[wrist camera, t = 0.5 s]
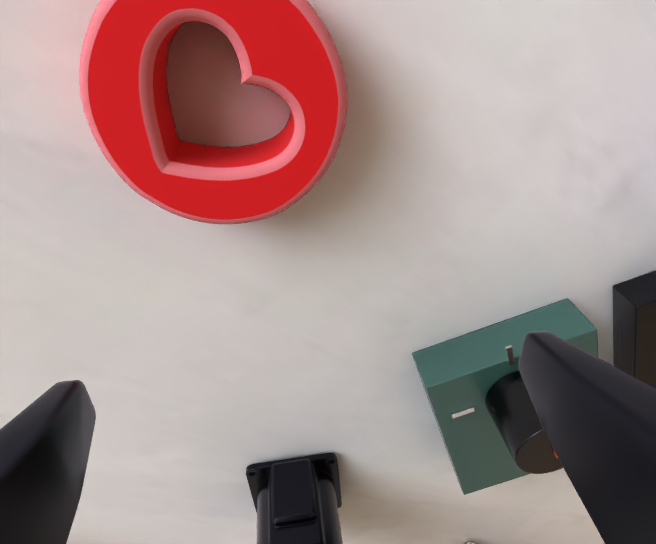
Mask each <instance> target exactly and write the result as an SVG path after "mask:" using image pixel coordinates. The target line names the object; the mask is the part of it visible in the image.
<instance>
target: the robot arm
mask: <svg viewBox="0 0 656 544" xmlns="http://www.w3.org/2000/svg"><path fill="white" fill-rule="evenodd" d="M519 371H520V374H521V376H522V379H523V381H524V384H525V386H526V388H527V391H528V393H529V396H530V398H531V400H532V403H533V405H534V408H535V410H536V412H537V415H538V417H539V420H540V422H541V424H542V427H543V429H544V431H545V433H546V436H547V438H548V440H549V442H550V444H551V445H552V447H553V449H554V451H555V453H556V455H557V457H558V458H559V460H560V462H561V464H562V466H563V467H564V469H565V471H566V473H567V475H568V477H569V478H570V480H571V482H572V484H573V486H574V488H575V489H576V491H577V493H578V495H579V497H580V498H581V500H582V502H583V504H584V506H585V508H586V509H587V511H588V513H589V515H590V517H591V519H592V520H593V522H594V524H595V526H596V528H597V530H598V531H599V533H600V535H601V537H602V539H603V540H604V542H605V544H656V389H655V388H654V387H652V386H650V385H648V384H646V383H644V382H642V381H640V380H639V379H637V378H635V377H633V376H631V375H629V374H627V373H626V372H624V371H622V370H620V369H618V368H616V367H614V366H612V365H611V364H609V363H607V362H605V361H603V360H601V359H599V358H597V357H596V356H594V355H592V354H590V353H588V352H586V351H584V350H582V349H581V348H579V347H577V346H575V345H573V344H571V343H569V342H567V341H566V340H564V339H562V338H560V337H558V336H556V335H554V334H552V333H551V332H548V331H537V332H530V333H528V334H527V335H526V336H525V338H524V342H523V346H522V350H521V354H520V358H519ZM95 419H96V415H95V409H94V406H93V404H92V401H91V399H90V397H89V395H88V392H87V390H86V388H85V385H84V384H83V383H82V382H81V381H79V380H73V381H64V382H59V383H56V384H55V385H54V386H52V387H51V388H50V389H49V390H48V391H46V392H45V393H44V394H43V395H41V396H40V397H39V398H38V399H37V400H35V401H34V402H33V403H32V404H31V405H29V406H28V407H27V408H26V409H25V410H23V411H22V412H21V413H20V414H18V415H17V416H16V417H15V418H14V419H12V420H11V421H10V422H9V423H8V424H6V425H5V426H4V427H3V428H2V429H0V544H66V542H67V539H68V536H69V532H70V529H71V526H72V523H73V520H74V516H75V513H76V510H77V507H78V503H79V499H80V496H81V491H82V487H83V482H84V477H85V472H86V467H87V462H88V456H89V451H90V446H91V441H92V436H93V430H94V425H95ZM246 476H247V480H248V483H249V487H250V490H251V494H252V497H253V501H254V505H255V508H256V512H257V544H343V542H342V535H341V528H340V521H339V514H338V508H340V507H341V505H342V503H341V493H340V483H339V472H338V462H337V456H336V454H334V453H325V454H318V455H312V456H305V457H298V458H292V459H285V460H278V461H272V462H265V463H258V464H252V465H249V466H248V467H247V468H246Z"/></svg>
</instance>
